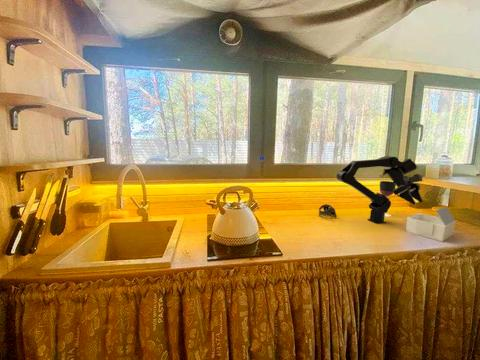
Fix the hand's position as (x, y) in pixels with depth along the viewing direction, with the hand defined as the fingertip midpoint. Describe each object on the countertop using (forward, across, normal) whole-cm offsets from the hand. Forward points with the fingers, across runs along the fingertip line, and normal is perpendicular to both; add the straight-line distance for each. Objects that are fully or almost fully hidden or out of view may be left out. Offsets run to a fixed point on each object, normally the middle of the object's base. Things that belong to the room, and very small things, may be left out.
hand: (418, 203), depth 115 cm
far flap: (+10, -1, -6) cm, 12 cm away
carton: (+14, -1, +4) cm, 15 cm away
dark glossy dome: (-14, -20, +37) cm, 44 cm away
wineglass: (-4, +13, +24) cm, 27 cm away
